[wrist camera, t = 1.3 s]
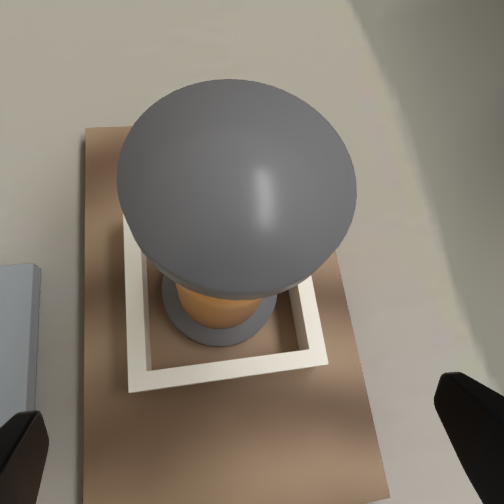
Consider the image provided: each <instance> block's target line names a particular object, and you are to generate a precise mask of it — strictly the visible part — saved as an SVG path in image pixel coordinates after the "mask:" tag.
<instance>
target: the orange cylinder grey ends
mask: <svg viewBox="0 0 504 504" xmlns="http://www.w3.org/2000/svg"><path fill="white" fill-rule="evenodd" d="M116 182H117V193H118V198H119V202H120V206H121V209H122V212H123V214H124V217H125V219H126V221H127V224H128V226H129V228H130V230H131V233H132V235H133V237H134V239H135V241H136V243H137V244H138V246H139V248H140V249H141V251H142V252H143V254H144V255H145V256H146V257H147V259H148V260H149V261H150V262H151V263H152V264H153V265H154V266H155V267H156V268H157V269H158V270H159V271H160V272H161V273H162V274H164V275H163V281H162V298H163V302H164V306H165V309H166V311H167V313H168V316H169V318H170V319H171V321H172V323H173V324H174V326H175V327H176V328H177V329H178V330H179V331H180V332H181V333H182V334H183V335H184V336H186V337H187V338H188V339H190V340H192V341H194V342H196V343H198V344H201V345H204V346H209V347H229V346H234V345H237V344H240V343H242V342H244V341H246V340H248V339H249V338H251V337H252V336H254V335H255V334H256V333H257V332H258V331H259V330H260V329H261V328H262V327H263V326H264V325H265V324H266V322H267V321H268V319H269V318H270V316H271V314H272V312H273V310H274V307H275V304H276V300H277V294H279V293H282V292H284V291H286V290H289V289H291V288H293V287H295V286H297V285H298V284H300V283H301V282H303V281H304V280H306V279H307V278H308V277H309V276H311V275H312V274H313V273H314V272H315V271H316V270H317V269H318V268H319V267H320V266H321V265H322V264H323V263H324V262H325V261H326V260H327V259H328V258H329V257H330V256H331V254H332V253H333V252H334V251H335V250H336V249H337V248H338V246H339V245H340V243H341V242H342V240H343V238H344V237H345V235H346V233H347V231H348V229H349V227H350V224H351V222H352V218H353V215H354V211H355V206H356V197H357V189H356V177H355V172H354V167H353V164H352V161H351V158H350V155H349V153H348V151H347V149H346V147H345V144H344V143H343V141H342V139H341V138H340V136H339V135H338V133H337V132H336V130H335V129H334V128H333V127H332V126H331V124H330V123H329V122H328V121H327V120H326V119H325V118H324V117H323V116H322V115H321V114H320V113H319V112H318V111H316V110H315V109H314V108H313V107H311V106H310V105H309V104H307V103H306V102H304V101H303V100H301V99H299V98H298V97H296V96H294V95H292V94H290V93H288V92H286V91H284V90H281V89H279V88H276V87H273V86H270V85H267V84H263V83H259V82H254V81H247V80H236V79H223V80H211V81H205V82H200V83H196V84H193V85H189V86H186V87H183V88H181V89H179V90H176V91H174V92H172V93H170V94H168V95H167V96H165V97H163V98H161V99H160V100H159V101H157V102H156V103H155V104H153V105H152V106H151V107H149V108H148V109H147V110H146V111H145V112H144V113H143V114H142V115H141V116H140V117H139V119H138V120H137V121H136V123H135V124H134V125H133V126H132V128H131V130H130V131H129V133H128V135H127V137H126V138H125V141H124V143H123V146H122V148H121V151H120V155H119V159H118V164H117V176H116Z"/></svg>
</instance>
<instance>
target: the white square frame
mask: <svg viewBox="0 0 504 504" xmlns="http://www.w3.org/2000/svg"><path fill="white" fill-rule="evenodd" d="M123 227H124V260H125V294H126V327H127V360H128V393H137V392H144V391H151V390H158V389H165V388H172V387H179V386H186V385H193V384H200V383H207V382H214V381H221V380H228V379H235V378H242V377H249V376H256V375H263V374H270V373H277V372H284V371H291V370H298V369H305V368H312V367H318V366H323V365H328V364H329V363H328V358H327V353H326V348H325V343H324V338H323V333H322V328H321V322H320V317H319V312H318V307H317V302H316V297H315V292H314V287H313V282H312V277H311V276H309V277H308V278H307V279H306V280H304V281H303V282H301V283H300V284H298V285H297V286H295V287H293V288H291V289H289V296H290V301H291V307H292V313H293V319H294V324H295V330H296V336H297V342H298V347H299V351H293V352H286V353H278V354H271V355H264V356H256V357H249V358H241V359H234V360H226V361H219V362H212V363H204V364H197V365H189V366H182V367H175V368H167V369H160V370H152V364H151V344H150V324H149V304H148V284H147V264H146V256H145V255H144V254H143V252H142V251H141V249H140V248H139V246H138V244H137V243H136V241H135V239H134V237H133V235H132V233H131V230H130V228H129V226H128V224H127V221H126V219H125V217H124V214H123Z"/></svg>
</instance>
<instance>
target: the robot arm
mask: <svg viewBox="0 0 504 504" xmlns="http://www.w3.org/2000/svg"><path fill="white" fill-rule="evenodd" d="M434 405H435V409H436V411H437V413H438V415H439V417H440V420H441V422H442V424H443V426H444V428H445V430H446V432H447V435H448V437H449V439H450V441H451V443H452V445H453V448H454V450H455V452H456V454H457V456H458V458H459V460H460V462H461V464H462V466H463V468H464V470H465V472H466V474H467V476H468V478H469V480H470V482H471V483H472V485H473V487H474V489H475V490H476V492H477V494H478V495H479V497H480V499H481V501H482V502H483V504H504V396H502V395H500V394H499V393H497V392H495V391H493V390H492V389H490V388H488V387H486V386H485V385H483V384H481V383H479V382H477V381H476V380H474V379H472V378H470V377H469V376H467V375H465V374H463V373H461V372H449V373H444V374H442V375H441V377H440V380H439V383H438V386H437V389H436V393H435V396H434ZM48 446H49V438H48V434H47V431H46V427H45V424H44V420H43V417H42V414H41V412H40V411H37V410H34V411H23V412H18V413H16V414H15V415H14V416H12V417H11V418H10V419H9V420H8V421H7V422H6V423H5V424H4V425H2V426H1V427H0V504H36V500H37V496H38V491H39V487H40V483H41V478H42V474H43V470H44V465H45V461H46V456H47V452H48Z"/></svg>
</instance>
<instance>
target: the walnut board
mask: <svg viewBox="0 0 504 504" xmlns="http://www.w3.org/2000/svg"><path fill="white" fill-rule="evenodd" d="M131 128H132V126H130V127H100V128H85V290H84V453H83V504H363V503H368V502H372V501H377V500H382V499H387V498H390V494H389V489H388V485H387V480H386V476H385V472H384V467H383V463H382V458H381V454H380V449H379V445H378V440H377V436H376V431H375V427H374V422H373V418H372V413H371V409H370V404H369V400H368V395H367V391H366V386H365V382H364V377H363V373H362V368H361V364H360V359H359V355H358V350H357V346H356V341H355V337H354V332H353V328H352V324H351V319H350V315H349V310H348V306H347V301H346V297H345V292H344V288H343V283H342V279H341V274H340V270H339V265H338V261H337V256H336V252H335V251H334V252H333V253H332V254H331V256H330V257H329V258H328V259H327V260H326V261H325V262H324V263H323V264H322V265H321V266H320V267H319V268H318V269H317V270H316V271H315V272H314V273H313V274H312V275H311V277H312V282H313V287H314V292H315V297H316V302H317V307H318V312H319V317H320V322H321V328H322V333H323V338H324V343H325V348H326V353H327V358H328V363H329V364H328V365H323V366H318V367H312V368H305V369H298V370H291V371H284V372H277V373H270V374H263V375H256V376H249V377H242V378H235V379H228V380H221V381H214V382H207V383H200V384H193V385H186V386H179V387H172V388H165V389H158V390H151V391H144V392H137V393H128V360H127V327H126V294H125V260H124V227H123V212H122V209H121V206H120V202H119V198H118V193H117V182H116V176H117V164H118V159H119V155H120V151H121V148H122V146H123V143H124V141H125V138H126V137H127V135H128V133H129V131H130V130H131ZM146 264H147V284H148V304H149V324H150V344H151V364H152V370H160V369H167V368H175V367H182V366H189V365H197V364H204V363H212V362H219V361H226V360H234V359H241V358H249V357H256V356H264V355H271V354H278V353H286V352H293V351H299V347H298V342H297V336H296V330H295V324H294V319H293V313H292V307H291V301H290V296H289V290H286V291H284V292H282V293H279V294H277V300H276V304H275V307H274V310H273V312H272V314H271V316H270V318H269V319H268V321H267V322H266V324H265V325H264V326H263V327H262V328H261V329H260V330H259V331H258V332H257V333H256V334H255V335H254V336H252V337H251V338H249V339H248V340H246V341H244V342H242V343H240V344H237V345H234V346H229V347H209V346H204V345H201V344H198V343H196V342H194V341H192V340H190V339H188V338H187V337H186V336H184V335H183V334H182V333H181V332H180V331H179V330H178V329H177V328H176V327H175V326H174V324H173V323H172V321H171V319H170V318H169V316H168V313H167V311H166V309H165V306H164V302H163V298H162V281H163V275H164V274H162V273H161V272H160V271H159V270H158V269H157V268H156V267H155V266H154V265H153V264H152V263H151V262H150V261H149V260H148V259H147V257H146Z"/></svg>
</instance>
